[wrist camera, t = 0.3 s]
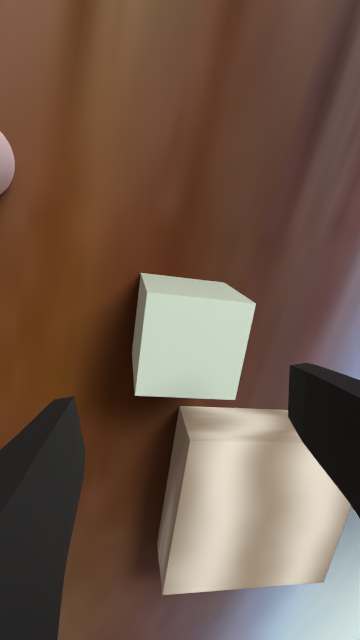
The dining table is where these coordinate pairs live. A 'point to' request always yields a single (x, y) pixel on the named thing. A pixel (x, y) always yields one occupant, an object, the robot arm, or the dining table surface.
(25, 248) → the dining table surface
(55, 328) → the dining table surface
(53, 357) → the dining table surface
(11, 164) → the smoothie
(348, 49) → the dining table surface
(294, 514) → the beige panel
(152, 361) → the green block
